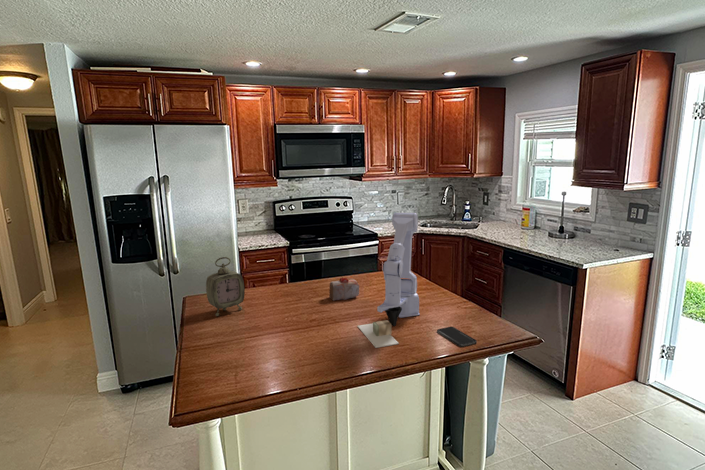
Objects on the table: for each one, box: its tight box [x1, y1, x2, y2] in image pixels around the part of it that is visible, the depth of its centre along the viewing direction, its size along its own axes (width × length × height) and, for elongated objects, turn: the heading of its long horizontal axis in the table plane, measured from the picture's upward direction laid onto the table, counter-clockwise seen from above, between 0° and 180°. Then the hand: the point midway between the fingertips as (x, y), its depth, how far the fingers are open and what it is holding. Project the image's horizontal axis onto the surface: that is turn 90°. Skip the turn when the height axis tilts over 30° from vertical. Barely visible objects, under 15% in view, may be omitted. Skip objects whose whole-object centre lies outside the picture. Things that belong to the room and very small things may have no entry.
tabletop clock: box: [205, 256, 246, 317], centre depth 180 cm, size 14×9×25 cm, turn 131°
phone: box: [436, 326, 478, 348], centre depth 153 cm, size 8×1×15 cm
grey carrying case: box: [328, 277, 360, 301], centre depth 198 cm, size 14×8×10 cm, turn 111°
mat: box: [357, 322, 400, 349], centre depth 156 cm, size 9×20×1 cm, turn 18°
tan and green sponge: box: [372, 319, 392, 336], centre depth 156 cm, size 4×4×6 cm
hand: (392, 325), depth 157 cm, fingers closed
